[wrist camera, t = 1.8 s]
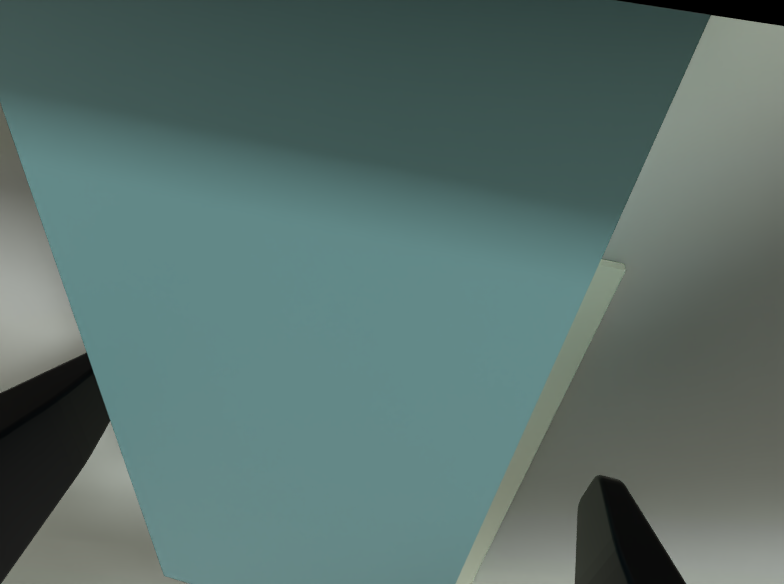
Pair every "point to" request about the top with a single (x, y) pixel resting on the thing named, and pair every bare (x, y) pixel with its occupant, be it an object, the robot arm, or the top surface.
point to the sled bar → (329, 250)
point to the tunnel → (726, 8)
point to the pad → (546, 406)
